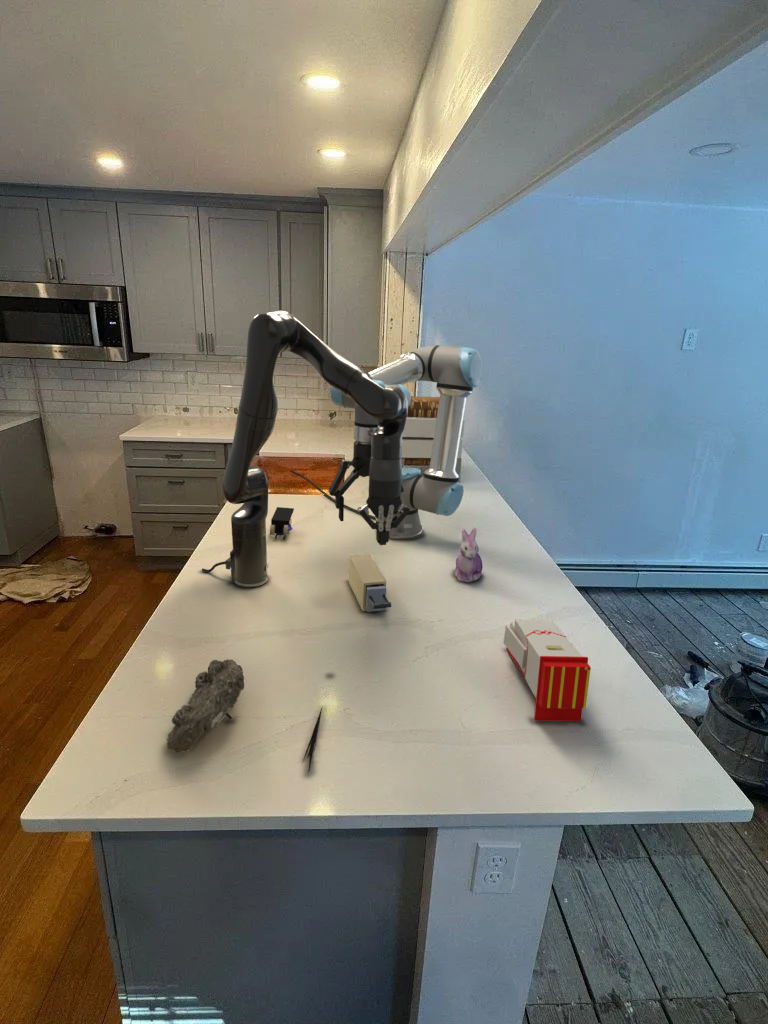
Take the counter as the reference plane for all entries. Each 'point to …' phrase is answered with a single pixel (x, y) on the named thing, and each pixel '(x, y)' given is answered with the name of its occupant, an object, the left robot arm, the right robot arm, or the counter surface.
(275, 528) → the figurine character
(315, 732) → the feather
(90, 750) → the counter surface
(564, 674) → the toy
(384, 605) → the drawer
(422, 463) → the grey slatted crate
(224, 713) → the fossil
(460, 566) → the figurine
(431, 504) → the right robot arm
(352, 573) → the cabinet
